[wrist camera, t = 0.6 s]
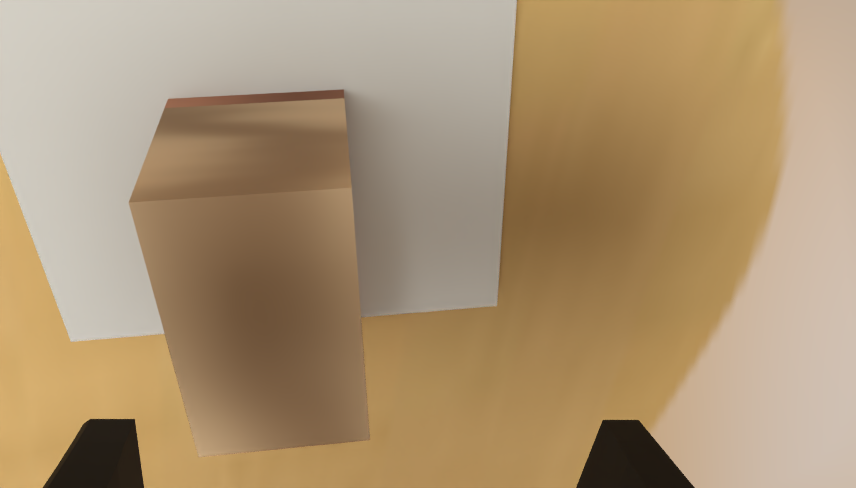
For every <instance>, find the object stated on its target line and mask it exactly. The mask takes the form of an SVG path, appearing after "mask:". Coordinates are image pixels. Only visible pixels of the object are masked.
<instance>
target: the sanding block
mask: <svg viewBox="0 0 856 488" xmlns="http://www.w3.org/2000/svg"><path fill="white" fill-rule="evenodd" d="M129 206H130V210H131V213H132V217H133V221H134V224H135V228H136V232H137V235H138V239H139V243H140V246H141V250H142V253H143V257H144V261H145V264H146V268H147V272H148V275H149V279H150V282H151V286H152V290H153V293H154V297H155V301H156V304H157V308H158V312H159V315H160V319H161V322H162V326H163V330H164V333H165V337H166V341H167V344H168V348H169V352H170V355H171V359H172V362H173V366H174V370H175V373H176V377H177V381H178V384H179V388H180V391H181V395H182V399H183V402H184V406H185V410H186V413H187V417H188V421H189V424H190V428H191V431H192V435H193V439H194V442H195V446H196V450H197V453H198V457H206V456H216V455H225V454H235V453H245V452H255V451H265V450H275V449H285V448H295V447H305V446H315V445H325V444H335V443H345V442H355V441H365V440H370V434H369V420H368V406H367V393H366V379H365V365H364V351H363V337H362V323H361V309H360V295H359V282H358V268H357V254H356V240H355V226H354V212H353V198H352V185H351V173H350V160H349V148H348V136H347V124H346V111H345V99H344V89H342V90H323V91H305V92H286V93H267V94H249V95H230V96H211V97H193V98H174V99H168V100H167V103H166V105H165V108H164V111H163V113H162V116H161V118H160V121H159V124H158V126H157V129H156V132H155V134H154V137H153V139H152V142H151V145H150V147H149V150H148V153H147V155H146V158H145V161H144V163H143V166H142V168H141V171H140V174H139V176H138V179H137V182H136V184H135V187H134V189H133V192H132V195H131V197H130V200H129Z"/></svg>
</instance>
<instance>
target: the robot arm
mask: <svg viewBox="0 0 856 488" xmlns="http://www.w3.org/2000/svg"><path fill="white" fill-rule="evenodd" d="M43 488H144V484H143V477H142V470H141V462H140V455H139V448H138V440H137V433H136V425H135V419H90V420H89V421H87V422H86V423H84V424H83V425H82V427H81V429H80V430H79V432H78V434H77V435H76V437H75V439H74V440H73V442H72V444H71V445H70V447H69V448H68V450H67V452H66V453H65V455H64V456H63V458H62V460H61V461H60V463H59V464H58V466H57V467H56V469H55V470H54V472H53V473H52V475H51V476H50V478H49V479H48V481H47V482H46V484H45V485H44V487H43ZM576 488H694V486H693V485H692V484H691V483H690V482H689V480H688V479H687V478H686V477H685V476H684V474H683V473H682V472H681V471H680V470H679V468H678V467H677V466H676V465H675V464H674V462H673V461H672V460H671V459H670V458H669V456H668V455H667V454H666V453H665V451H664V450H663V449H662V448H661V447H660V445H659V444H658V443H657V442H656V441H655V439H654V438H653V437H652V436H651V435H650V433H649V432H648V431H647V430H646V429H645V427H644V426H643V425H642V424H641V423H640V421H639V420H603V421H602V424H601V426H600V429H599V431H598V434H597V436H596V439H595V441H594V444H593V446H592V449H591V452H590V454H589V457H588V459H587V462H586V464H585V467H584V469H583V472H582V474H581V477H580V479H579V482H578V484H577V487H576Z"/></svg>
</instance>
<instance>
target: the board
mask: <svg viewBox="0 0 856 488" xmlns="http://www.w3.org/2000/svg"><path fill="white" fill-rule="evenodd" d="M516 6H517V0H0V153H1V156H2V159H3V161H4V164H5V167H6V169H7V172H8V175H9V177H10V180H11V183H12V185H13V188H14V191H15V193H16V196H17V199H18V201H19V204H20V207H21V209H22V212H23V215H24V217H25V220H26V223H27V225H28V228H29V231H30V233H31V236H32V239H33V241H34V244H35V247H36V249H37V252H38V255H39V257H40V260H41V263H42V265H43V268H44V271H45V274H46V276H47V279H48V282H49V284H50V287H51V290H52V292H53V295H54V298H55V300H56V303H57V306H58V308H59V311H60V314H61V316H62V319H63V322H64V324H65V327H66V330H67V332H68V335H69V338H70V340H71V342H73V341H85V340H97V339H108V338H120V337H132V336H144V335H156V334H165V333H164V330H163V326H162V322H161V319H160V315H159V312H158V308H157V304H156V301H155V297H154V293H153V290H152V286H151V282H150V279H149V275H148V272H147V268H146V264H145V261H144V257H143V253H142V250H141V246H140V243H139V239H138V235H137V232H136V228H135V224H134V221H133V217H132V213H131V210H130V206H129V200H130V197H131V195H132V192H133V189H134V187H135V184H136V182H137V179H138V176H139V174H140V171H141V168H142V166H143V163H144V161H145V158H146V155H147V153H148V150H149V147H150V145H151V142H152V139H153V137H154V134H155V132H156V129H157V126H158V124H159V121H160V118H161V116H162V113H163V111H164V108H165V105H166V103H167V100H168V99H174V98H193V97H211V96H230V95H249V94H267V93H286V92H305V91H323V90H342V89H344V99H345V111H346V124H347V136H348V148H349V160H350V173H351V185H352V198H353V212H354V226H355V240H356V254H357V268H358V282H359V295H360V309H361V317H370V316H382V315H394V314H406V313H418V312H430V311H442V310H454V309H466V308H478V307H490V306H497V300H498V284H499V269H500V253H501V238H502V222H503V207H504V191H505V176H506V160H507V145H508V129H509V114H510V98H511V83H512V68H513V52H514V37H515V21H516Z"/></svg>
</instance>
